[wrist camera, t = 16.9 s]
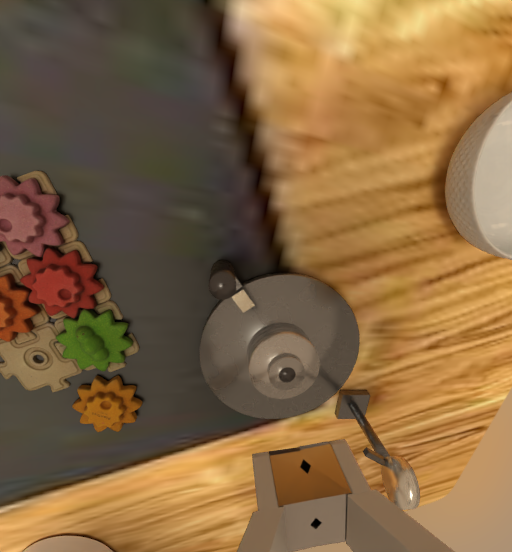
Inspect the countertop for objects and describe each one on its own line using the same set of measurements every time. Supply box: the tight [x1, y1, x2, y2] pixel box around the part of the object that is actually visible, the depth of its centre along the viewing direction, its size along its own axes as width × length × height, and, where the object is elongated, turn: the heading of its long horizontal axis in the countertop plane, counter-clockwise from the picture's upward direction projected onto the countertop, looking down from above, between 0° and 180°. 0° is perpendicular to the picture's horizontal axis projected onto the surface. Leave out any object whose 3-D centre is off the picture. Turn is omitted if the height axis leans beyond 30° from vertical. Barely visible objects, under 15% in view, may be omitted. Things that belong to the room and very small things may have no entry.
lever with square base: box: [335, 390, 420, 510], centre depth 33 cm, size 4×5×14 cm
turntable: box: [200, 260, 359, 419], centre depth 32 cm, size 23×20×6 cm
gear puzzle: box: [0, 171, 142, 432], centre depth 30 cm, size 31×16×4 cm, turn 19°
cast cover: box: [247, 322, 320, 399], centre depth 32 cm, size 8×8×5 cm
